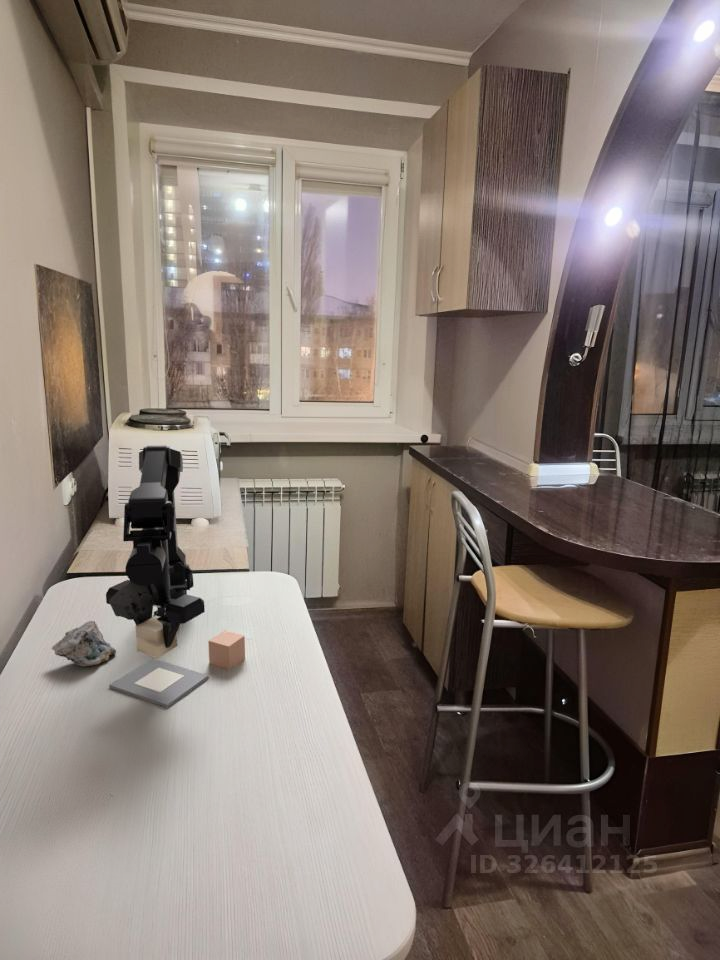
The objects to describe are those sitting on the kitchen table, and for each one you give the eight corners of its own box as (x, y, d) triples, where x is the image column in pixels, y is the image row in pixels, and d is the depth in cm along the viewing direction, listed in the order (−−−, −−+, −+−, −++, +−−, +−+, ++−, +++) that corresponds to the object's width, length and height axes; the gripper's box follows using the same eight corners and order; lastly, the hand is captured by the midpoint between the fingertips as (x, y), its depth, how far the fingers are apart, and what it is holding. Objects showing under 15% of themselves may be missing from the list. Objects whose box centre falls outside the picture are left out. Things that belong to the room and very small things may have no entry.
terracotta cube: (225, 652, 130) (224, 630, 128) (245, 658, 128) (244, 635, 126) (209, 663, 125) (208, 640, 124) (229, 669, 123) (228, 646, 122)
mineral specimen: (96, 688, 125) (83, 655, 132) (127, 659, 126) (113, 627, 133) (58, 671, 118) (47, 637, 125) (91, 640, 119) (78, 608, 126)
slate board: (152, 660, 126) (152, 657, 126) (208, 678, 120) (208, 674, 120) (109, 687, 116) (109, 684, 116) (167, 707, 110) (167, 704, 110)
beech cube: (157, 639, 120) (155, 615, 119) (177, 645, 118) (175, 621, 116) (137, 651, 115) (135, 626, 114) (157, 657, 113) (156, 632, 112)
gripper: (77, 569, 110) (85, 651, 113) (159, 589, 102) (164, 676, 105) (126, 550, 119) (132, 626, 123) (204, 567, 111) (208, 648, 115)
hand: (157, 643), depth 116 cm, fingers closed on beech cube, 5 cm apart
